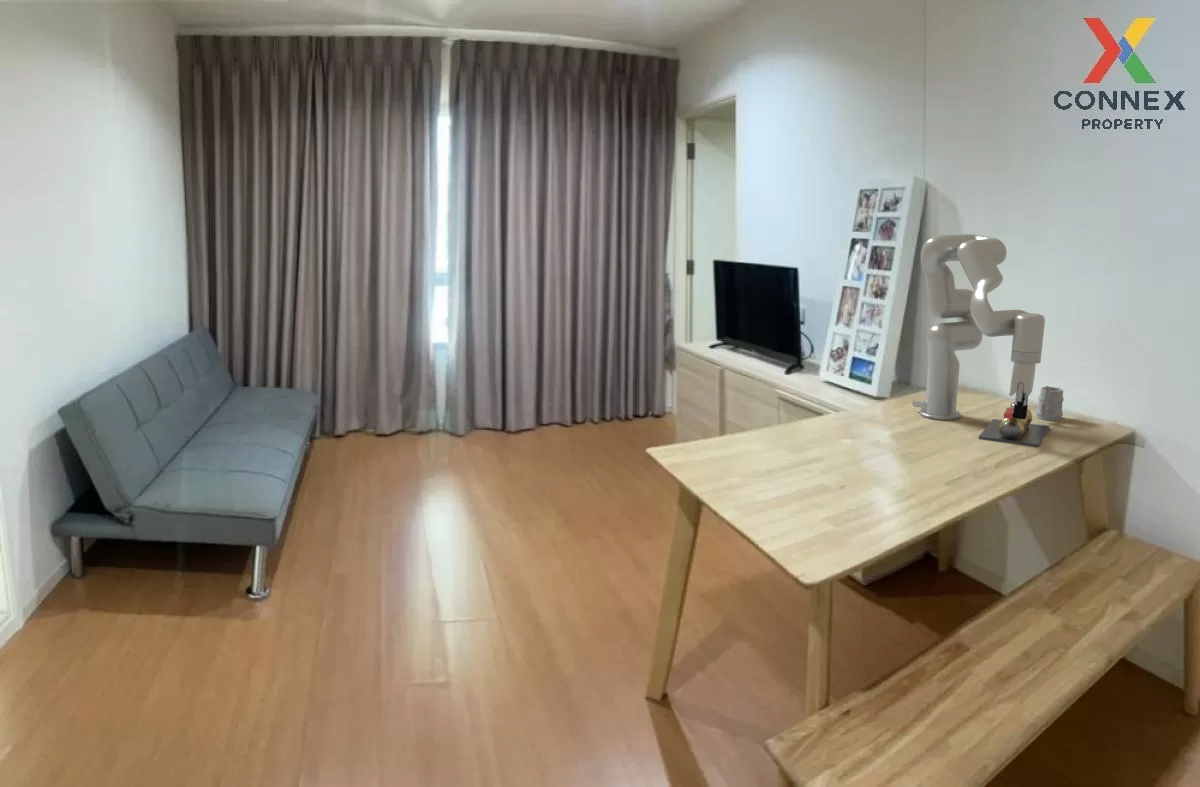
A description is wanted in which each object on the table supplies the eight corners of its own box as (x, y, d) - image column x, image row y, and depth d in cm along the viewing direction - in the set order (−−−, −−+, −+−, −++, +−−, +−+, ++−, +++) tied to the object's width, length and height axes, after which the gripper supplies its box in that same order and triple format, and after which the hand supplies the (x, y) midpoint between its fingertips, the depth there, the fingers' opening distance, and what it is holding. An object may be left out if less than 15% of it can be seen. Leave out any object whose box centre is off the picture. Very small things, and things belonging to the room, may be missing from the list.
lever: (1011, 406, 230) (1012, 401, 229) (1024, 408, 228) (1025, 403, 227) (1000, 417, 219) (1001, 412, 218) (1014, 419, 217) (1015, 414, 216)
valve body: (978, 438, 226) (980, 414, 224) (992, 421, 242) (995, 398, 241) (1038, 447, 216) (1041, 422, 214) (1049, 428, 233) (1052, 405, 231)
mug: (1064, 417, 244) (1069, 381, 241) (1055, 425, 236) (1059, 388, 233) (1038, 413, 249) (1042, 378, 246) (1028, 421, 241) (1032, 385, 238)
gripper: (1015, 351, 221) (1009, 410, 226) (1006, 360, 209) (1000, 422, 214) (1044, 353, 217) (1037, 413, 221) (1037, 362, 205) (1030, 426, 209)
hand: (1019, 417), depth 217 cm, fingers closed
